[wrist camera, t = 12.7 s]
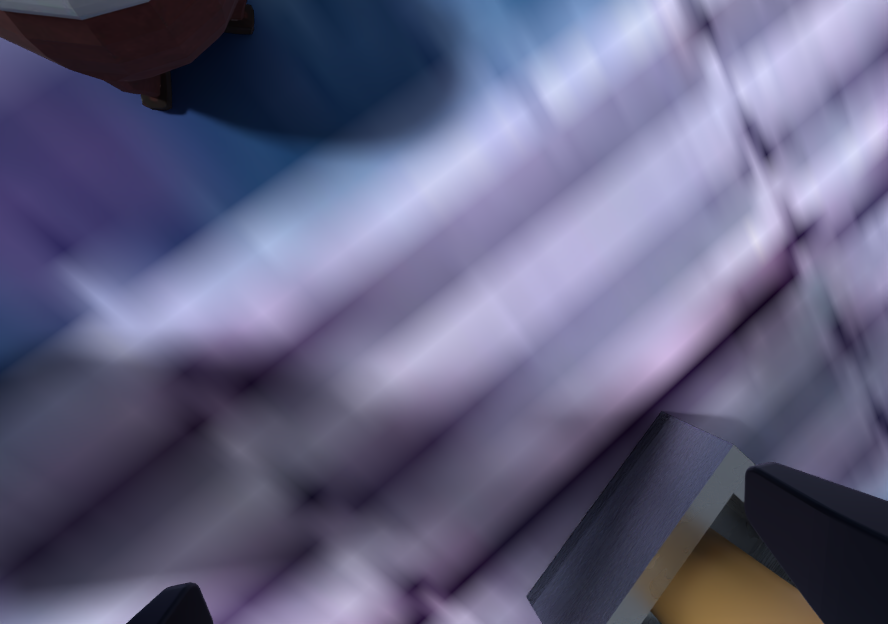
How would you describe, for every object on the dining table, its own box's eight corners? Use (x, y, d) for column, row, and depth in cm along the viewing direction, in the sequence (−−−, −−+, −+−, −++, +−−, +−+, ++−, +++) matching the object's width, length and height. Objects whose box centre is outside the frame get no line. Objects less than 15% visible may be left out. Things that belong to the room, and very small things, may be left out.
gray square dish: (666, 684, 24) (731, 764, 20) (526, 597, 21) (571, 672, 17) (781, 518, 25) (864, 566, 21) (661, 411, 22) (733, 444, 18)
